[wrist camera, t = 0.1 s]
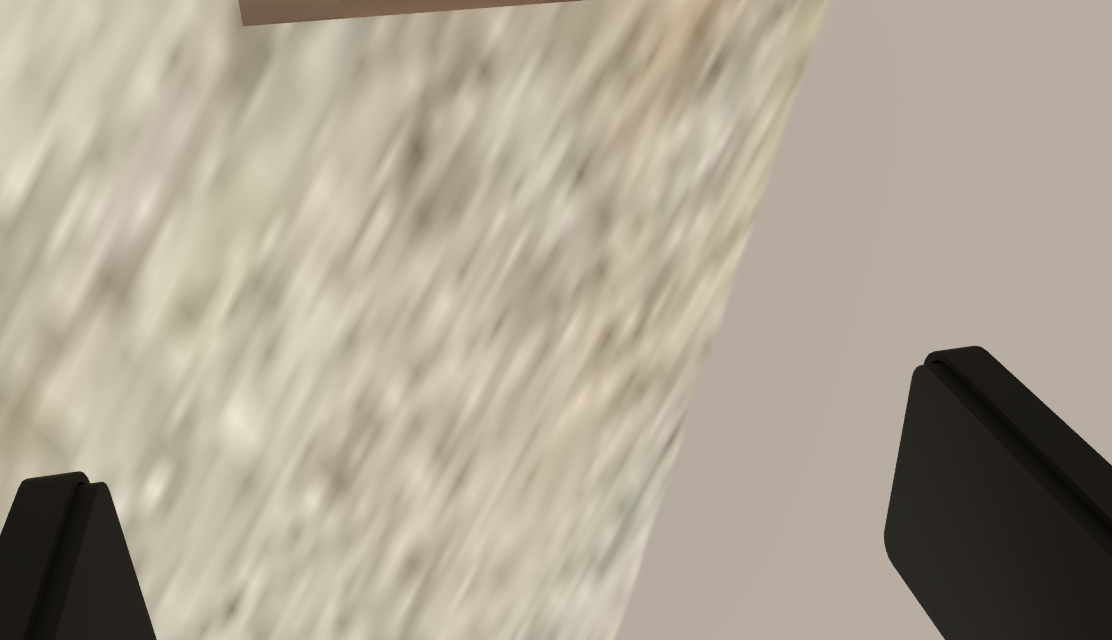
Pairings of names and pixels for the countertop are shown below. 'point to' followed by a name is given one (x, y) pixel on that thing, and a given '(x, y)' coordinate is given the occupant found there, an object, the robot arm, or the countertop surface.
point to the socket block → (356, 8)
